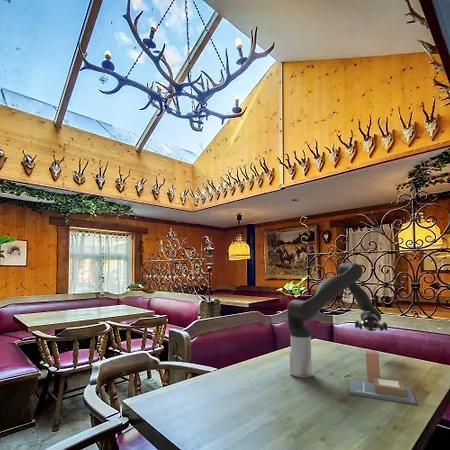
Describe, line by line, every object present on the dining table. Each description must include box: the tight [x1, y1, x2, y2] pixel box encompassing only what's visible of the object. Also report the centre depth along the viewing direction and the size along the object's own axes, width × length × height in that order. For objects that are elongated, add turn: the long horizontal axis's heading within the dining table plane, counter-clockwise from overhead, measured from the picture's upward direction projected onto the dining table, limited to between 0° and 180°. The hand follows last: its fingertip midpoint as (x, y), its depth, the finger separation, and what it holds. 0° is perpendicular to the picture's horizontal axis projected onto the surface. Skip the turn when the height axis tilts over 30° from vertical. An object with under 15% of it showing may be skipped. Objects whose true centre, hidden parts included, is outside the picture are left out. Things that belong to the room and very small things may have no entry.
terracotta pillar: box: [365, 349, 381, 383], centre depth 132 cm, size 5×5×12 cm
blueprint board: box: [349, 377, 417, 406], centre depth 120 cm, size 22×14×4 cm, turn 66°
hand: (371, 328), depth 144 cm, fingers open, 8 cm apart
